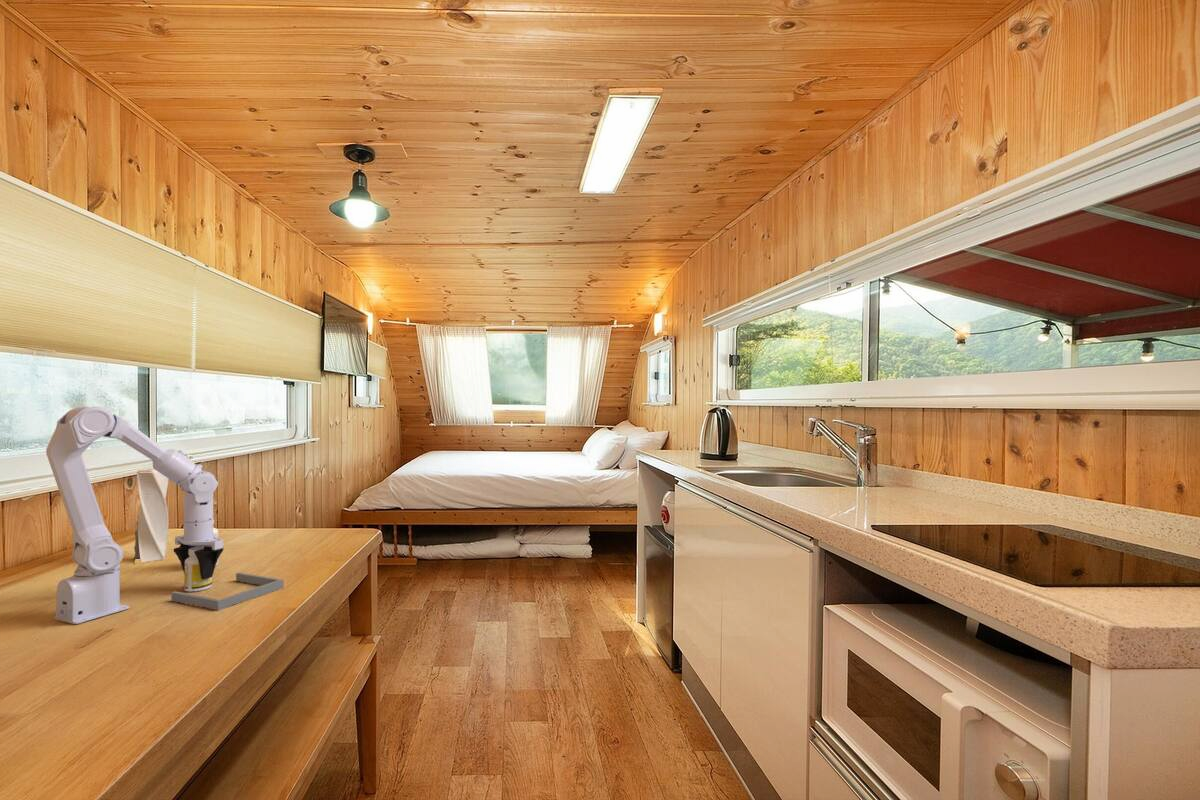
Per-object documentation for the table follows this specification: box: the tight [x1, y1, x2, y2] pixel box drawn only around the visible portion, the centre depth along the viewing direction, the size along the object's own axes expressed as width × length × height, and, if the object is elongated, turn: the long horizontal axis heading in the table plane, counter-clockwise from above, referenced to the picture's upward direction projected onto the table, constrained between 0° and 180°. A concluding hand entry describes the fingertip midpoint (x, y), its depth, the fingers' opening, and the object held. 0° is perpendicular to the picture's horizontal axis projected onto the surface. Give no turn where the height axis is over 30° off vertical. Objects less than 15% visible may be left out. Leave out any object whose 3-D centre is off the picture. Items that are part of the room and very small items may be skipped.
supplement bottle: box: [183, 547, 213, 593], centre depth 132 cm, size 5×5×10 cm
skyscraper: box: [133, 467, 170, 565], centre depth 157 cm, size 8×8×28 cm
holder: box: [170, 572, 285, 611], centre depth 128 cm, size 16×16×2 cm
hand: (198, 576), depth 132 cm, fingers open, 5 cm apart
